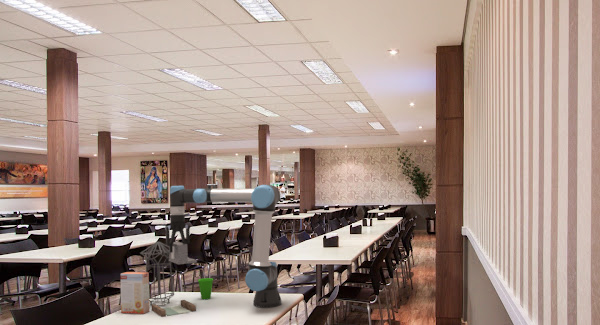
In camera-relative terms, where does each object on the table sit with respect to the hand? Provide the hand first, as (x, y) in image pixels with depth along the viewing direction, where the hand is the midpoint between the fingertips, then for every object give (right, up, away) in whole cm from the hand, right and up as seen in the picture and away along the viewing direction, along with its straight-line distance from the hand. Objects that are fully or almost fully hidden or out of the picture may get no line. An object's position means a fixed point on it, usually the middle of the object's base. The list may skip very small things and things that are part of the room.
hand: (178, 257), depth 275 cm
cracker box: (-22, -28, -4) cm, 36 cm away
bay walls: (-2, -27, -4) cm, 28 cm away
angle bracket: (+2, -2, +1) cm, 3 cm away
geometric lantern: (-14, -29, +13) cm, 34 cm away
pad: (-2, -27, -4) cm, 28 cm away
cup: (+11, -28, +24) cm, 38 cm away
